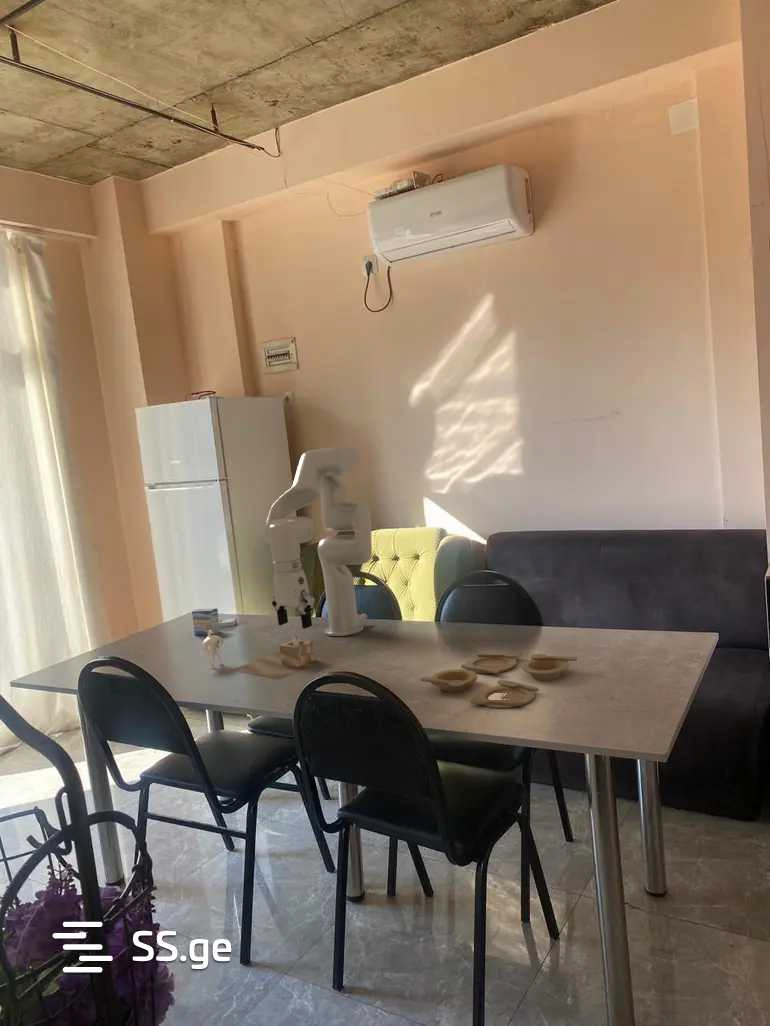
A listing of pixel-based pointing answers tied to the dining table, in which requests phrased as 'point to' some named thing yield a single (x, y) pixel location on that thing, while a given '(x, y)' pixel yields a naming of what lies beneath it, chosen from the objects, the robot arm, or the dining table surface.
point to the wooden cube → (297, 653)
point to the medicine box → (205, 621)
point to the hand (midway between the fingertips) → (295, 625)
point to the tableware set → (496, 663)
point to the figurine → (213, 647)
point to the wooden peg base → (274, 665)
